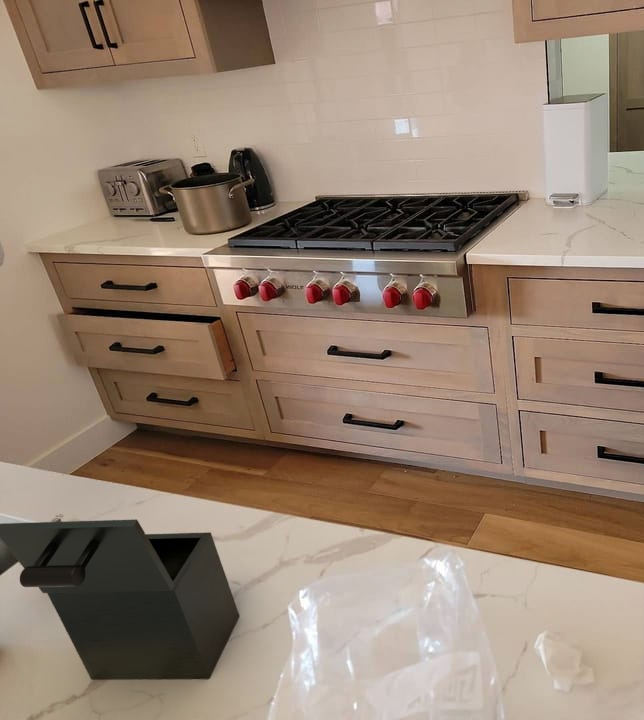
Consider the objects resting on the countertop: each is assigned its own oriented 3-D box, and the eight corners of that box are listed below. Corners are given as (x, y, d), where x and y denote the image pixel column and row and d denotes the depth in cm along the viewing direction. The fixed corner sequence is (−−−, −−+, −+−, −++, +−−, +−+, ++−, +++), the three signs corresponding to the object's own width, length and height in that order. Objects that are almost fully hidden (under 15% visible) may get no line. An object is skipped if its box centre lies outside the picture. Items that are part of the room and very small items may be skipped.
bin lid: (-1, 523, 63) (-38, 569, 59) (137, 519, 62) (108, 566, 58) (47, 586, 69) (16, 633, 64) (174, 584, 67) (151, 631, 63)
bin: (132, 617, 82) (95, 535, 76) (239, 616, 80) (210, 532, 75) (90, 679, 74) (46, 593, 69) (209, 679, 73) (174, 590, 67)
